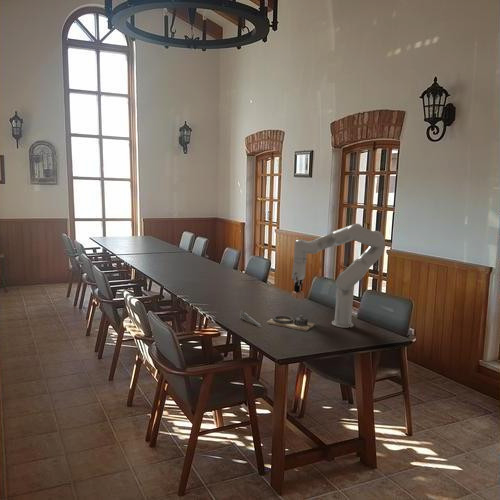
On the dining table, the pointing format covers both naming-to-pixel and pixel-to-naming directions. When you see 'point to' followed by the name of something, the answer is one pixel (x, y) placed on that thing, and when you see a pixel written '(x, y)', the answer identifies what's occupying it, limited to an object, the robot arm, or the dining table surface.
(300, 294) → the planet gear
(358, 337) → the dining table surface
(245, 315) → the caliper
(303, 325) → the carrier
